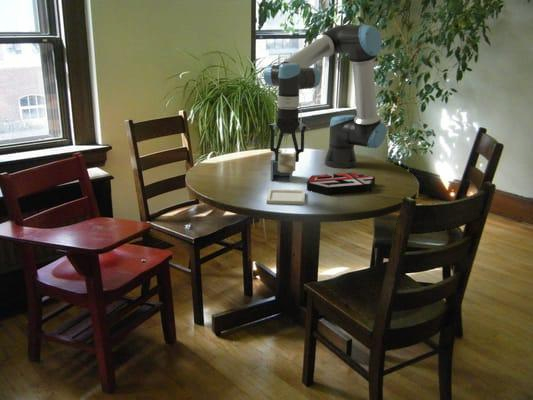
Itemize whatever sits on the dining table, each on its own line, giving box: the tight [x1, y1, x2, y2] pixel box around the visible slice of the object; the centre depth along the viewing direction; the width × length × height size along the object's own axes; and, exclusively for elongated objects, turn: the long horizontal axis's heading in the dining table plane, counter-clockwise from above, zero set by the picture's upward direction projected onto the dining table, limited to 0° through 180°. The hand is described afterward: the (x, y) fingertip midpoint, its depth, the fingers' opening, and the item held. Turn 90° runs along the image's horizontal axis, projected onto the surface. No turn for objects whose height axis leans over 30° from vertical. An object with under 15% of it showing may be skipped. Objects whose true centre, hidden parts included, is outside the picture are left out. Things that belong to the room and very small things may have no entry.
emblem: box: [306, 172, 376, 197], centre depth 218 cm, size 18×4×30 cm
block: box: [280, 152, 294, 174], centre depth 199 cm, size 5×5×6 cm
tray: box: [266, 188, 306, 206], centre depth 203 cm, size 14×14×1 cm
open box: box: [270, 154, 293, 182], centre depth 229 cm, size 9×9×9 cm
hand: (286, 169), depth 200 cm, fingers closed on block, 5 cm apart
